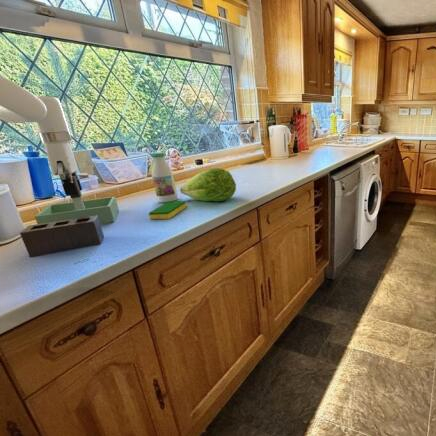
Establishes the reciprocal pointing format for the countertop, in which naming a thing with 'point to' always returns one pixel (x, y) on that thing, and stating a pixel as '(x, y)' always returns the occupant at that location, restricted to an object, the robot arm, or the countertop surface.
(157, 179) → the milk bottle
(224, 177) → the lettuce
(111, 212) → the green tray
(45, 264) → the countertop surface
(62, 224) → the knife rack
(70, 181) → the robot arm
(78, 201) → the knife
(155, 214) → the dish sponge
